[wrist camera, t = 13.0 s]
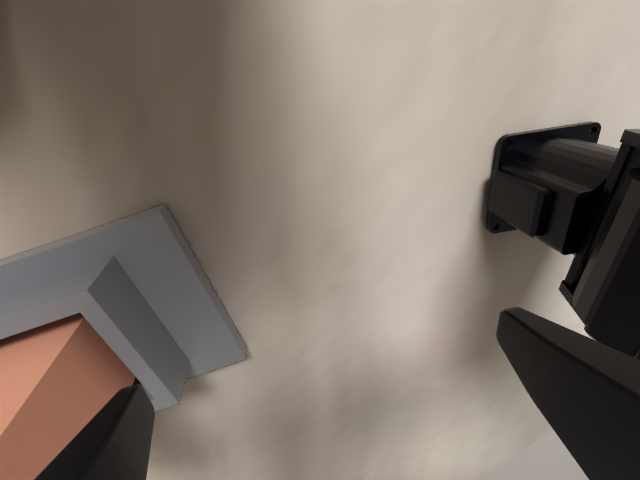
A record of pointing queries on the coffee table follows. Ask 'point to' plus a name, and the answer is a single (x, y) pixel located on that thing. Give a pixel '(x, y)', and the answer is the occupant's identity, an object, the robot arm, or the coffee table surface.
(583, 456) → the robot arm
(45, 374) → the two-tone capped block
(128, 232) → the chassis
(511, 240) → the coffee table surface
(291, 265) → the coffee table surface
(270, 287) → the coffee table surface
